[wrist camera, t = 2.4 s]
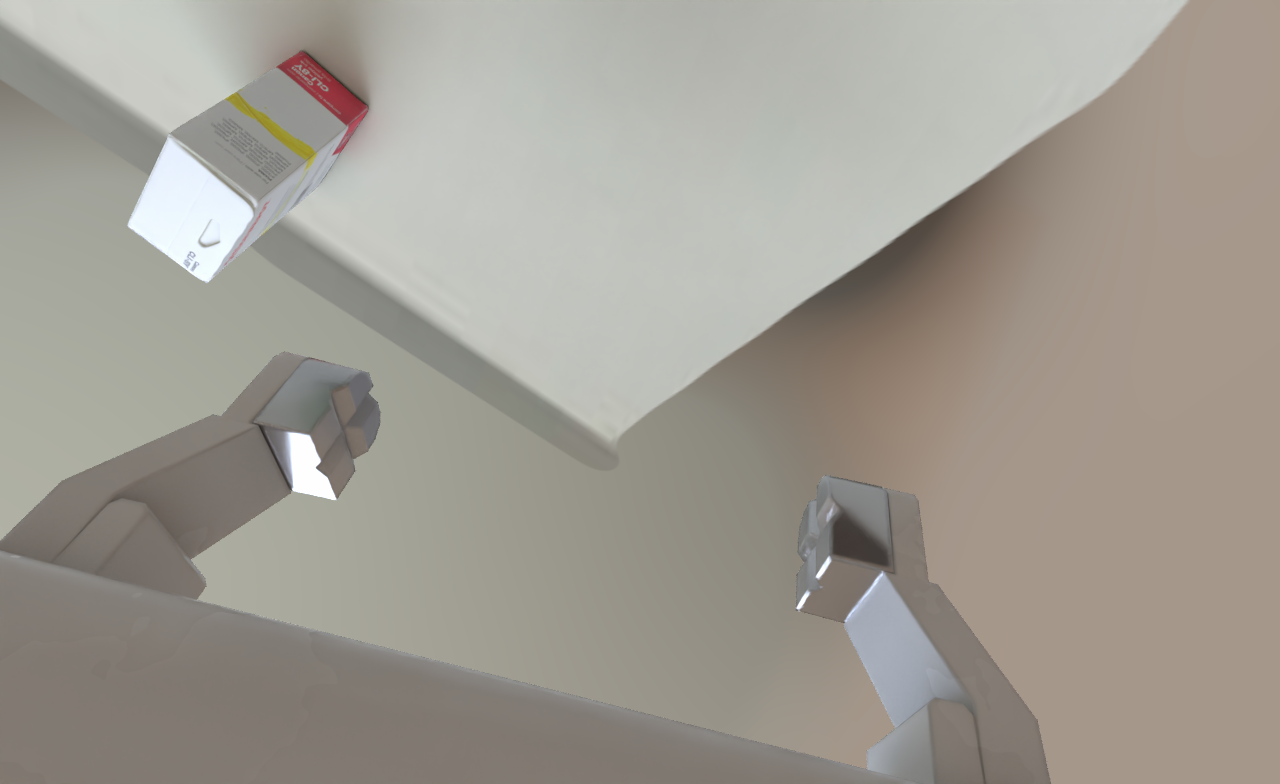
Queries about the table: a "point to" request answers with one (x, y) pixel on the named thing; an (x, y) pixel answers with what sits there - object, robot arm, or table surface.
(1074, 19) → the table surface
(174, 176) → the ink box
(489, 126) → the table surface
